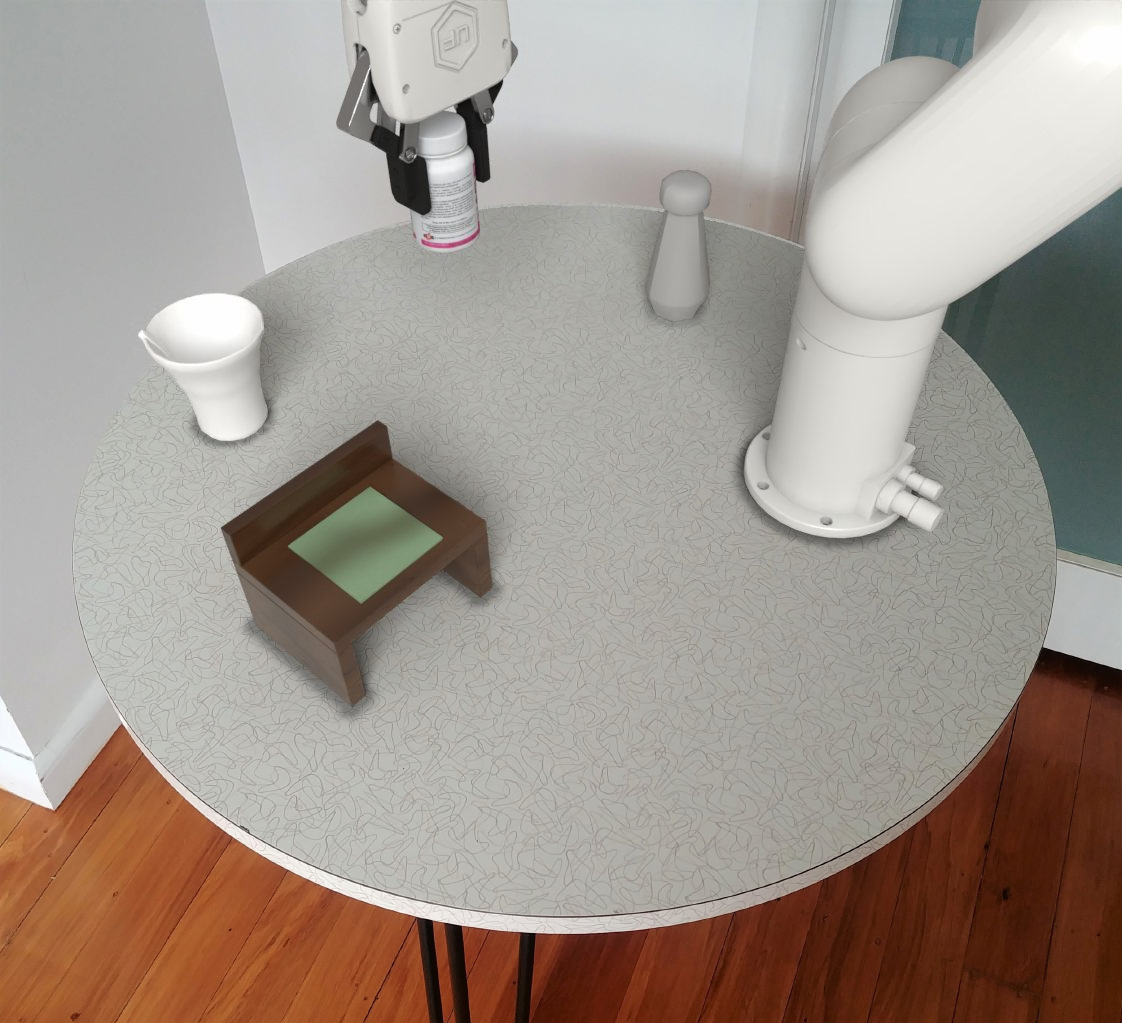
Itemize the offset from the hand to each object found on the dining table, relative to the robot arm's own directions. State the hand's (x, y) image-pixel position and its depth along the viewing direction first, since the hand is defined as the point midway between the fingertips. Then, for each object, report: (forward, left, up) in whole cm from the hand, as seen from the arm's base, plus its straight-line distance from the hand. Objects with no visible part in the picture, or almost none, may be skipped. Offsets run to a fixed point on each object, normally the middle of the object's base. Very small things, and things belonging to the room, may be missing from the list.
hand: (442, 188), depth 73 cm
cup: (+13, +14, -20) cm, 28 cm away
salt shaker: (-5, -22, -20) cm, 31 cm away
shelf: (-10, +19, -20) cm, 29 cm away
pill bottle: (0, 0, -4) cm, 4 cm away
